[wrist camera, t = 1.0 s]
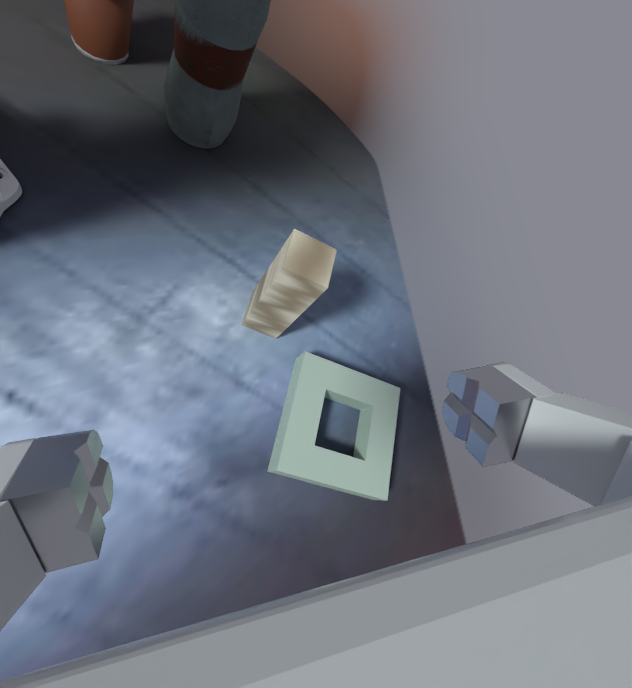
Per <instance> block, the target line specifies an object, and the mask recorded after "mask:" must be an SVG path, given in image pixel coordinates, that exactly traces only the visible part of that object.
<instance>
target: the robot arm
mask: <svg viewBox="0 0 632 688" xmlns="http://www.w3.org/2000/svg"><path fill="white" fill-rule="evenodd" d="M0 177H3V178H1V179H0V217H1V215H2V213H3V212H4V210H5V209H7V208H8V207H9V206H10V205H12V204H13V203H14V202H15V201H16V200H17V199H18V198H19V197H20V196H21V194H22V188H21V186H20V184H19V182H18V180H17V179H16V178H15V177H14V175H13V174H12V173H11V172H10V170H9V169H8V168H7V167H6V165H5V164H4V163H3V162H2V160H1V159H0ZM447 387H448V389H449V391H450V392H451V393H450V394H449V396H448V397H447V398H446V399H445V401H444V406H443V416H444V420H445V424H446V425H447V427H448V429H449V431H450V432H451V433H452V434H453V435H454V436H455V437H457V438H459V439H461V440H464V441H466V449H467V450H468V451H469V453H470V454H471V455H472V456H473V457H474V458H475V459H476V460H477V461H478V462H479V463H480V464H481V465H482V466H483V467H487V466H491V465H496V464H501V463H506V462H511V461H514V463H515V464H517V465H519V466H521V467H523V468H525V469H526V470H528V471H530V472H532V473H534V474H536V475H537V476H539V477H541V478H543V479H545V480H547V481H549V482H550V483H552V484H554V485H556V486H558V487H559V488H561V489H563V490H565V491H567V492H569V493H571V494H572V495H574V496H576V497H578V498H580V499H582V500H583V501H585V502H587V503H589V504H591V505H593V506H594V507H591V508H588V509H585V510H581V511H578V512H574V513H571V514H567V515H564V516H561V517H557V518H554V519H551V520H547V521H544V522H540V523H537V524H533V525H530V526H527V527H523V528H520V529H516V530H513V531H510V532H507V533H503V534H499V535H496V536H493V537H489V538H486V539H483V540H479V541H476V542H472V543H469V544H466V545H462V546H459V547H455V548H452V549H449V550H445V551H442V552H438V553H435V554H431V555H428V556H425V557H421V558H418V559H414V560H411V561H407V562H404V563H401V564H397V565H394V566H390V567H387V568H384V569H380V570H377V571H373V572H370V573H366V574H363V575H360V576H356V577H353V578H349V579H346V580H342V581H339V582H336V583H332V584H329V585H325V586H322V587H319V588H315V589H312V590H308V591H305V592H301V593H298V594H295V595H291V596H288V597H284V598H281V599H278V600H274V601H271V602H267V603H264V604H260V605H257V606H254V607H250V608H247V609H243V610H240V611H237V612H233V613H230V614H226V615H223V616H220V617H216V618H213V619H209V620H206V621H202V622H199V623H196V624H192V625H189V626H185V627H182V628H179V629H175V630H172V631H168V632H165V633H161V634H158V635H155V636H151V637H148V638H144V639H141V640H138V641H134V642H131V643H127V644H124V645H121V646H117V647H114V648H110V649H107V650H103V651H100V652H97V653H93V654H90V655H86V656H83V657H80V658H76V659H73V660H69V661H66V662H63V663H59V664H56V665H52V666H49V667H45V668H42V669H39V670H35V671H32V672H28V673H25V674H22V675H18V676H15V677H11V678H8V679H5V680H1V681H0V688H632V413H629V412H626V411H622V410H619V409H616V408H612V407H609V406H605V405H601V404H598V403H594V402H591V401H588V400H584V399H581V398H577V397H574V396H571V395H567V394H563V393H559V394H556V393H554V392H553V391H551V390H550V389H548V388H547V387H545V386H544V385H542V384H540V383H539V382H538V381H536V380H535V379H533V378H531V377H530V376H528V375H527V374H525V373H524V372H522V371H521V370H519V369H518V368H516V367H515V366H513V365H512V364H510V363H505V362H502V363H497V364H492V365H487V366H484V367H478V368H473V369H467V370H461V371H455V372H452V373H451V375H450V376H449V378H448V383H447ZM102 447H103V445H102V442H101V439H100V437H99V434H98V433H97V432H96V431H95V430H90V431H83V432H76V433H69V434H62V435H55V436H48V437H41V438H38V439H35V438H34V439H28V440H22V441H16V442H9V443H7V444H5V445H3V446H2V447H1V448H0V631H1V629H2V628H3V627H4V626H5V625H6V623H7V622H8V621H9V620H10V619H11V617H12V616H13V615H14V614H15V613H16V611H17V610H18V609H19V608H20V607H21V605H22V604H23V603H24V602H25V601H26V599H27V598H28V597H29V596H30V595H31V593H32V592H33V591H34V590H35V588H36V587H37V586H38V585H39V584H40V582H41V581H42V580H43V579H44V578H45V576H46V574H45V573H48V572H51V571H55V570H59V569H63V568H66V567H70V566H74V565H78V564H82V563H85V562H89V561H93V560H97V559H98V558H99V554H100V549H101V545H102V541H103V537H104V533H105V529H106V528H105V525H104V522H103V519H102V517H103V516H104V515H105V514H106V513H107V512H108V511H109V510H110V507H111V502H112V498H113V480H112V474H111V470H110V466H109V463H108V462H106V461H105V460H103V459H102V458H100V454H101V451H102Z"/></svg>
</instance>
